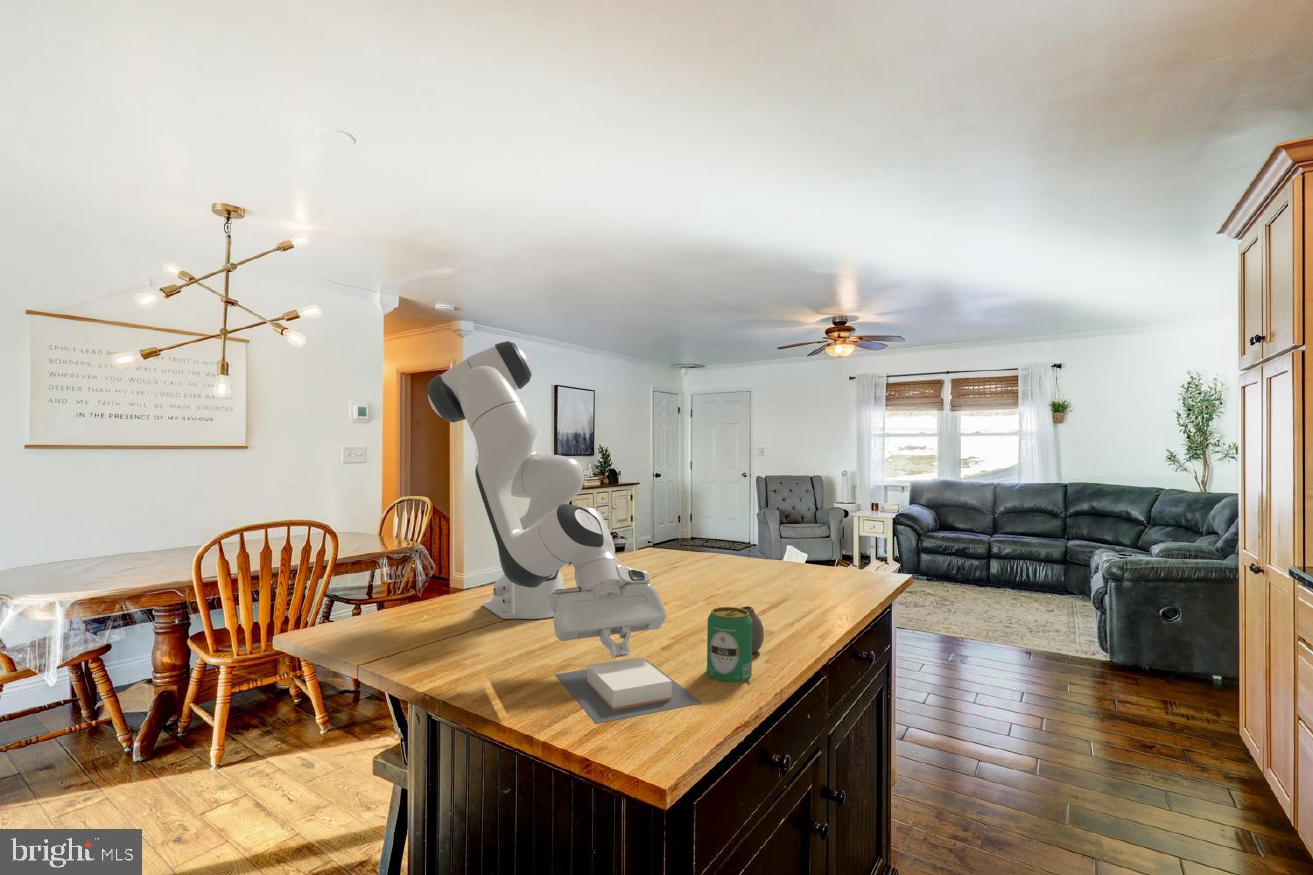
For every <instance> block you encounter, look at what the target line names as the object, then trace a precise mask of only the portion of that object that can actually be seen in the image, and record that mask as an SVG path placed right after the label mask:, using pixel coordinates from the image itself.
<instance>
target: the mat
mask: <svg viewBox="0 0 1313 875" xmlns="http://www.w3.org/2000/svg"><path fill="white" fill-rule="evenodd" d="M646 661H647V662H648V663H649V664H650V665H652V666H653V667H654V668H656V669H657V670H658V671H660V672H661V673H662V674H663V675H665V676H666V677H667V678H669V679H670V680H671V681H672V698H671V700H667V701H662V702H656V703H651V704H646V705H640V706H635V707H629V708H624V709H619V710H613V709H612V708H611V707H610V706H609V705H608V704H607V703H606V702H605V701H604V700H603V699H602V698H601V697H600V696H599V695H598V694H597V692H596V691H595V690H594V689H593V688H592V687H591V686H590V685H589V684H588V683H587V672H588V668H587V669H582V670H575V671H570V672H569V671H567V672H563V673H556V674H554V676H555V677H556V678H557V679H558V680H559V682H560V683H561V684H562V686H563V687H564V688H565V689H566V690H567V692H569V693H570V695H571V696H572V697H573V698H574V700H575V701H576V702H577V703H578V704H579V706H580V707H581V708H582V709H583V710H584V711H585V713H586V714H587V715H588V716H589V718H590V719H591V720H592V721H593V723H594V724H596V725H597V724H603V723H608V722H614V721H619V720H623V719H629V718H635V717H639V716H640V717H641V716H644V715H650V714H655V713H659V712H665V711H670V710H675V709H680V708H685V707H691V706H696V705H701V704H703V701H701V700H700V699H699V698H697V697H696V696H695V695H693V694H692V693H690V692H689V691H688V690H687V689H685V688H684V687H683V686H681V685H680V684H679V683H677V682H676V681H675V680H673V679H672V678H671V677H669V676H668V675H667V674H666V673H664V672H663V671H661V670H660V668H658V667H656V666H655V665H654V664H653V663H652V662H650V661H649V660H646Z"/></svg>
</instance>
